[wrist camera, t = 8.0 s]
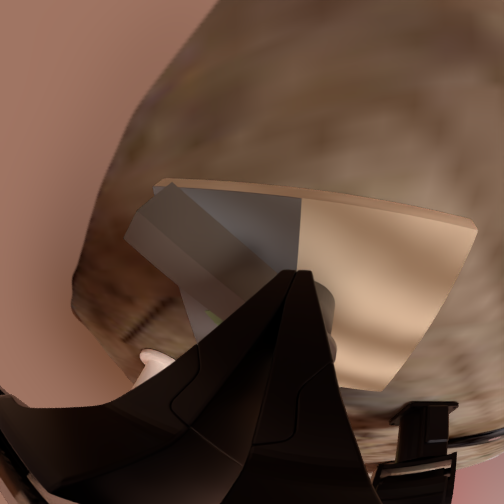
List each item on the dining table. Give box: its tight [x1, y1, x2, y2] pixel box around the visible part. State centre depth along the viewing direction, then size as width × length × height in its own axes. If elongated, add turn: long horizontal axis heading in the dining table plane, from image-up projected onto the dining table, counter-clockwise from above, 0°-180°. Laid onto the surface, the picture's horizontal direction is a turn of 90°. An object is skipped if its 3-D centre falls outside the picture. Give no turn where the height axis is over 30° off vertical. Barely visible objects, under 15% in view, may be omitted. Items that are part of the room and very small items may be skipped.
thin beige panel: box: [153, 178, 478, 392], centre depth 16 cm, size 16×16×1 cm
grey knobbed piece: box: [123, 182, 337, 364], centre depth 14 cm, size 11×9×3 cm
